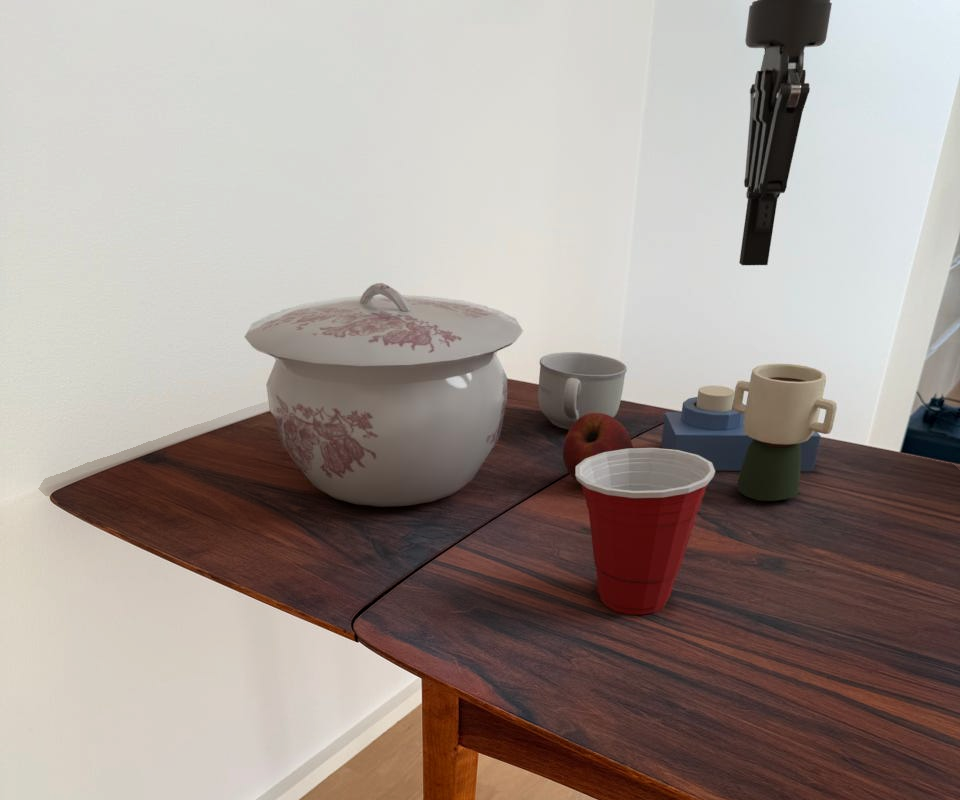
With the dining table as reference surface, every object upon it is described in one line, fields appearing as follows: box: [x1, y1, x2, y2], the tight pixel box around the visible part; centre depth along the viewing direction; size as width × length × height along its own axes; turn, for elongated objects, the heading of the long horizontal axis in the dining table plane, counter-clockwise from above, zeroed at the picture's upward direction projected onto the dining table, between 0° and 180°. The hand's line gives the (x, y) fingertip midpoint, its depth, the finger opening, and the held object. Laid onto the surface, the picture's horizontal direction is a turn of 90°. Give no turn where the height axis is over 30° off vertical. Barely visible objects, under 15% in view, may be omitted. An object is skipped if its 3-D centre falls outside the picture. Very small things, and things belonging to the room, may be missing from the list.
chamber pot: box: [244, 282, 524, 508], centre depth 91 cm, size 28×28×21 cm
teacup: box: [537, 351, 628, 431], centre depth 110 cm, size 14×11×8 cm
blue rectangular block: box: [660, 396, 821, 473], centre depth 101 cm, size 16×8×6 cm, turn 88°
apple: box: [562, 413, 634, 485], centre depth 94 cm, size 7×8×8 cm
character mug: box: [733, 363, 838, 502], centre depth 90 cm, size 11×7×13 cm, turn 46°
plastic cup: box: [576, 447, 716, 616], centre depth 72 cm, size 11×11×12 cm
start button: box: [696, 385, 735, 411], centre depth 100 cm, size 4×4×2 cm
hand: (753, 263), depth 96 cm, fingers closed
